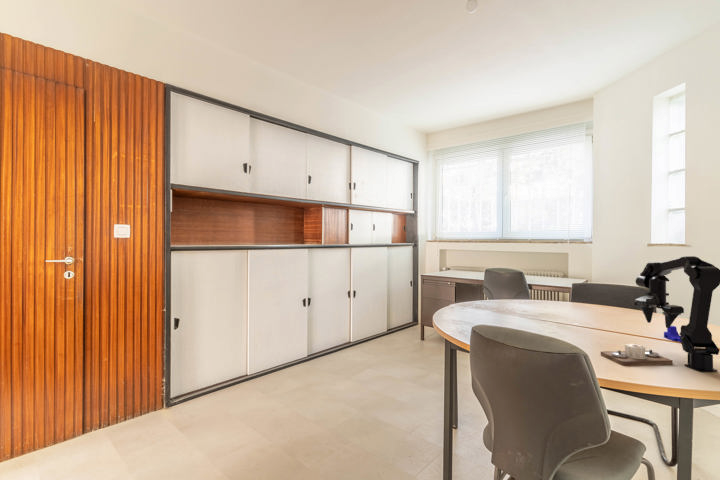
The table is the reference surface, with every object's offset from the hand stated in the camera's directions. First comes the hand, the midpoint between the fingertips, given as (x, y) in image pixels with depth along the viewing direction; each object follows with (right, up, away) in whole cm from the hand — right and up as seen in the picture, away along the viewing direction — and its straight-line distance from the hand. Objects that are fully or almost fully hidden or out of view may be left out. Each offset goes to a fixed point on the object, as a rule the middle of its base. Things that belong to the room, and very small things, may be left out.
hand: (658, 325), depth 150 cm
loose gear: (-20, -10, -11) cm, 25 cm away
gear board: (-20, -11, -11) cm, 25 cm away
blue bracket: (+20, -11, +12) cm, 26 cm away
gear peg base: (-20, -10, -11) cm, 25 cm away
